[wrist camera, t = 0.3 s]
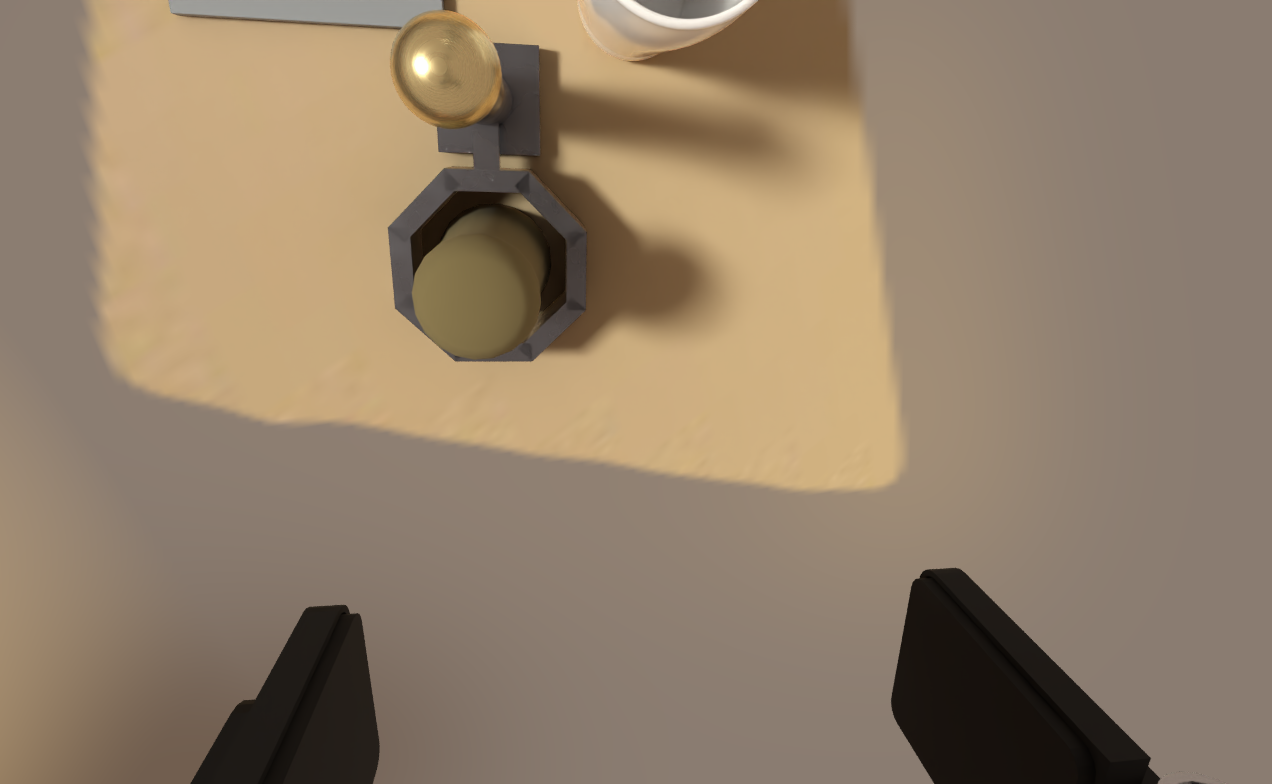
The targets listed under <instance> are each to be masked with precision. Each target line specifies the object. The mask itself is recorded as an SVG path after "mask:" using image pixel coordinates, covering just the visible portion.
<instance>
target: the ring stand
mask: <svg viewBox="0 0 1272 784" xmlns="http://www.w3.org/2000/svg"><path fill="white" fill-rule="evenodd" d="M390 69H391V76H392V79H393V83H394V86H395V88H396V91H397V93H398V95H399V96H400V98H401V100H402V101H403V103H404V104H405V105H406V106H407V108H408V109H409V110H410V111H411V112H412V113H413V114H415V115H416V116H417V117H419V118H420V119H421V120H423V121H425V122H427V123H428V124H431V125H433V126H436V127H437V133H438V150H439V152H454V153H473V159H474V167H453V166H452V167H448V168H444V169H443V170H442V171H441V172H440V173H439V174H438V175H437V177H436V178H435V179H434V180H433V181H432V182H431V183H430V184H429V185H428V186H427V187H426V188H425V189H424V190H423V191H422V192H421V193H420V194H419V195H418V197H417V198H416V199H415V200H414V201H413V202H412V203H411V204H410V205H409V206H408V207H407V208H406V209H405V210H404V211H403V212H402V213H401V214H400V216H399V217H398V218H397V219H396V220H395V221H394V222H393V223H392V224H391V225H390V226H389V227H388V234H389V245H390V256H391V267H392V278H393V289H394V301H395V309H397V310H398V311H399V312H400V313H401V314H402V315H403V316H405V317H406V318H407V319H408V320H409V321H410V322H411V323H412V324H414V325H415V326H416V327H417V328H418V329H419V330H420V331H422V332H423V333H424V334H425V335H426V336H427V337H428V338H430V337H429V336H428V335H427V334H426V333H425V332H424V330H423V328H422V326H421V325H420V323H419V321H418V319H417V317H416V315H415V310H414V303H413V297H412V289H413V283H414V277H415V273H416V271H417V269H418V268H419V266H420V264H421V262H422V260H423V247H422V233H421V229H422V228H423V227H424V226H425V225H426V224H427V223H428V222H429V221H430V220H431V219H432V218H433V217H434V216H435V215H436V214H437V213H438V212H439V210H440V209H441V208H442V207H443V206H444V205H445V204H446V203H447V202H448V201H449V200H450V199H451V198H452V197H453V196H454V195H455V194H456V193H457V192H458V191H477V192H510V193H521V194H522V195H523V196H524V197H525V198H526V199H527V200H528V201H529V202H530V203H531V204H532V205H533V206H534V207H535V208H536V209H537V210H538V211H539V212H540V213H541V214H542V215H543V217H544V218H545V219H546V220H547V221H548V222H549V223H550V224H551V225H552V226H553V227H554V228H555V229H556V230H557V231H558V232H559V233H560V234H561V235H562V236H563V237H564V238H565V291H564V292H563V293H562V294H561V295H560V296H559V297H558V298H557V299H556V300H555V301H554V302H553V303H552V304H551V305H550V306H549V307H548V308H547V309H545V310H544V311H543V312H542V313H541V314H540V315H539V316H538V319H537V323H536V324H535V326H534V328H533V329H532V331H531V332H530V334H529V336H528V337H527V339H525V340H524V341H523V342H522V343H521V344H519V345H518V346H517V347H516V348H514V349H513V350H512V351H510V352H507V353H505V354H502V355H500V356H497V357H495V358H490V359H477V360H473V359H469V358H464V357H459V356H455V355H453V354H451V353H450V352H448V351H446V350H444V349H442V348H441V347H440V348H441V349H442V350H443V351H444V352H445V353H447V354H448V355H449V356H450V357H451V358H452V359H453V360H455V361H533V360H534V359H535V358H536V357H537V356H538V355H539V354H540V353H541V352H543V351H544V350H545V349H546V348H547V347H548V346H549V345H550V344H551V343H552V342H553V341H554V340H555V339H556V338H557V337H558V336H559V335H560V334H561V333H562V332H563V331H564V330H565V329H567V328H568V327H569V326H570V325H571V324H572V323H573V322H574V321H575V320H576V319H577V318H578V317H579V316H580V315H581V314H582V313H583V312H584V311H585V310H586V244H587V232H586V229H585V227H584V225H583V224H582V223H581V222H580V221H579V220H578V219H577V218H576V217H575V216H574V215H573V214H572V212H571V211H570V210H569V209H568V208H567V207H566V206H565V205H564V204H563V203H562V202H561V201H560V200H559V199H558V198H557V197H556V196H555V194H554V193H553V192H552V191H551V190H550V189H549V188H548V187H547V186H546V185H545V184H544V183H543V182H542V181H541V180H540V179H539V178H538V176H537V175H536V174H535V173H534V172H533V171H532V170H531V169H510V168H500V154H506V155H533V156H540V77H539V45H522V44H505V43H492V41H491V40H490V38H489V37H488V35H487V34H486V33H485V32H484V30H483V29H482V28H480V27H479V26H478V25H477V24H476V23H475V22H473V21H472V20H471V19H469V18H467V17H465V16H464V15H461V14H459V13H456V12H453V11H448V10H431V11H427V12H423V13H420V14H418V15H416V16H414V17H413V18H412V19H410V20H409V21H408V22H407V23H405V24H404V25H403V27H402V28H401V29H400V31H399V32H398V34H397V36H396V37H395V40H394V42H393V45H392V49H391V56H390ZM430 339H431V338H430ZM431 340H432V339H431ZM432 341H433V340H432ZM433 342H434V341H433ZM434 343H435V342H434ZM435 344H436V343H435ZM436 345H437V344H436ZM437 346H438V345H437Z"/></svg>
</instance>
